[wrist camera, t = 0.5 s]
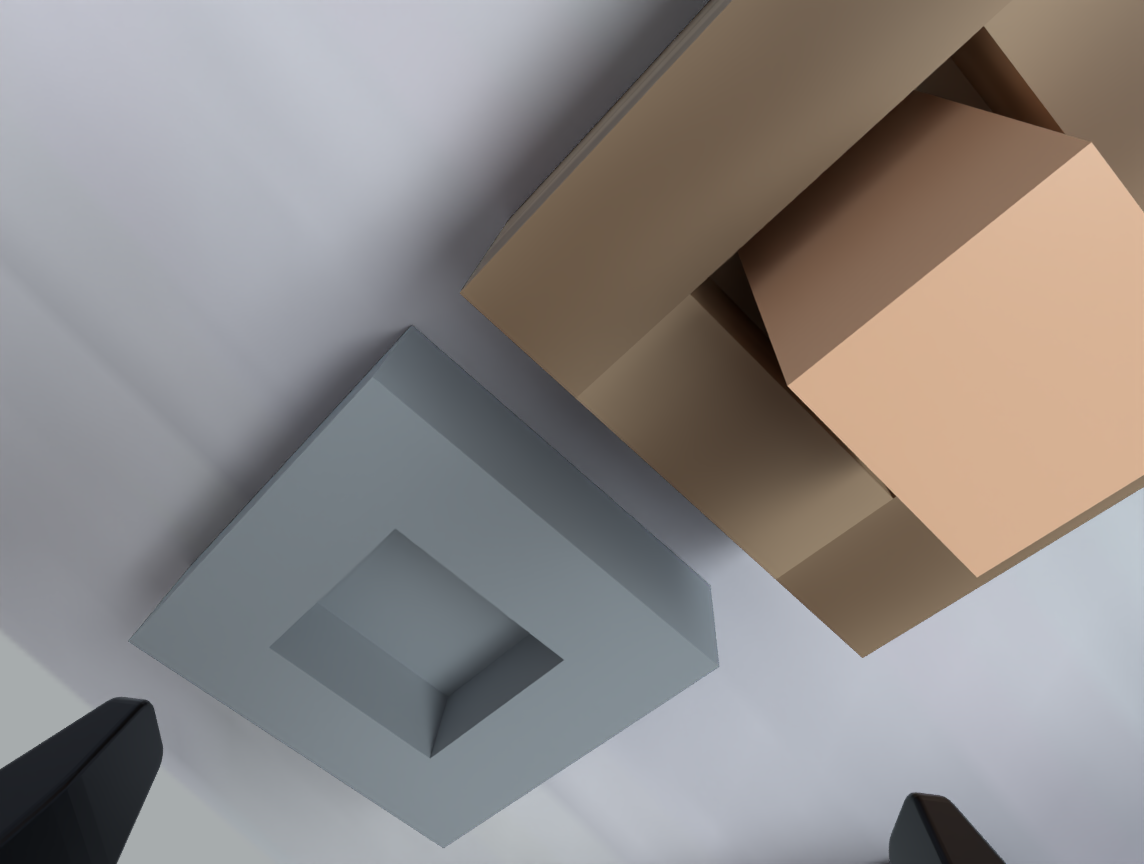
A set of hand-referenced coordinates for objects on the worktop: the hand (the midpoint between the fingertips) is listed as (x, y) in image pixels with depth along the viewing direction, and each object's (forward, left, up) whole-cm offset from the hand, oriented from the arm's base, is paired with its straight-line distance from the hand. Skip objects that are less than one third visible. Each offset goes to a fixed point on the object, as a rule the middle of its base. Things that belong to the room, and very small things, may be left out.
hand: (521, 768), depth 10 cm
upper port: (-2, -7, -14) cm, 15 cm away
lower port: (-2, +9, -14) cm, 17 cm away
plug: (-2, -7, -11) cm, 13 cm away
